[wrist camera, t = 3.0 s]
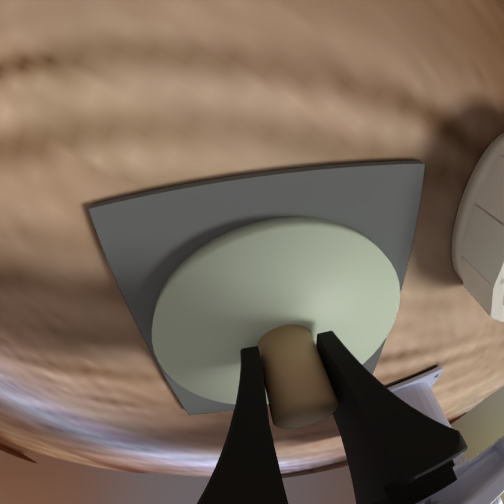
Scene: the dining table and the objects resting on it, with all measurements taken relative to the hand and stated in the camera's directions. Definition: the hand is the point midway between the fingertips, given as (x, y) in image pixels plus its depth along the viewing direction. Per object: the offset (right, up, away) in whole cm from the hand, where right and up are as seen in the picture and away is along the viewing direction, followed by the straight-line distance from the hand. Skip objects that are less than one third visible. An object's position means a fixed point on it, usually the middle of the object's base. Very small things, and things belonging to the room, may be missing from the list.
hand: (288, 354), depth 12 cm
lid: (0, +1, +1) cm, 1 cm away
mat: (0, +1, +1) cm, 2 cm away
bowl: (+13, +7, 0) cm, 15 cm away
